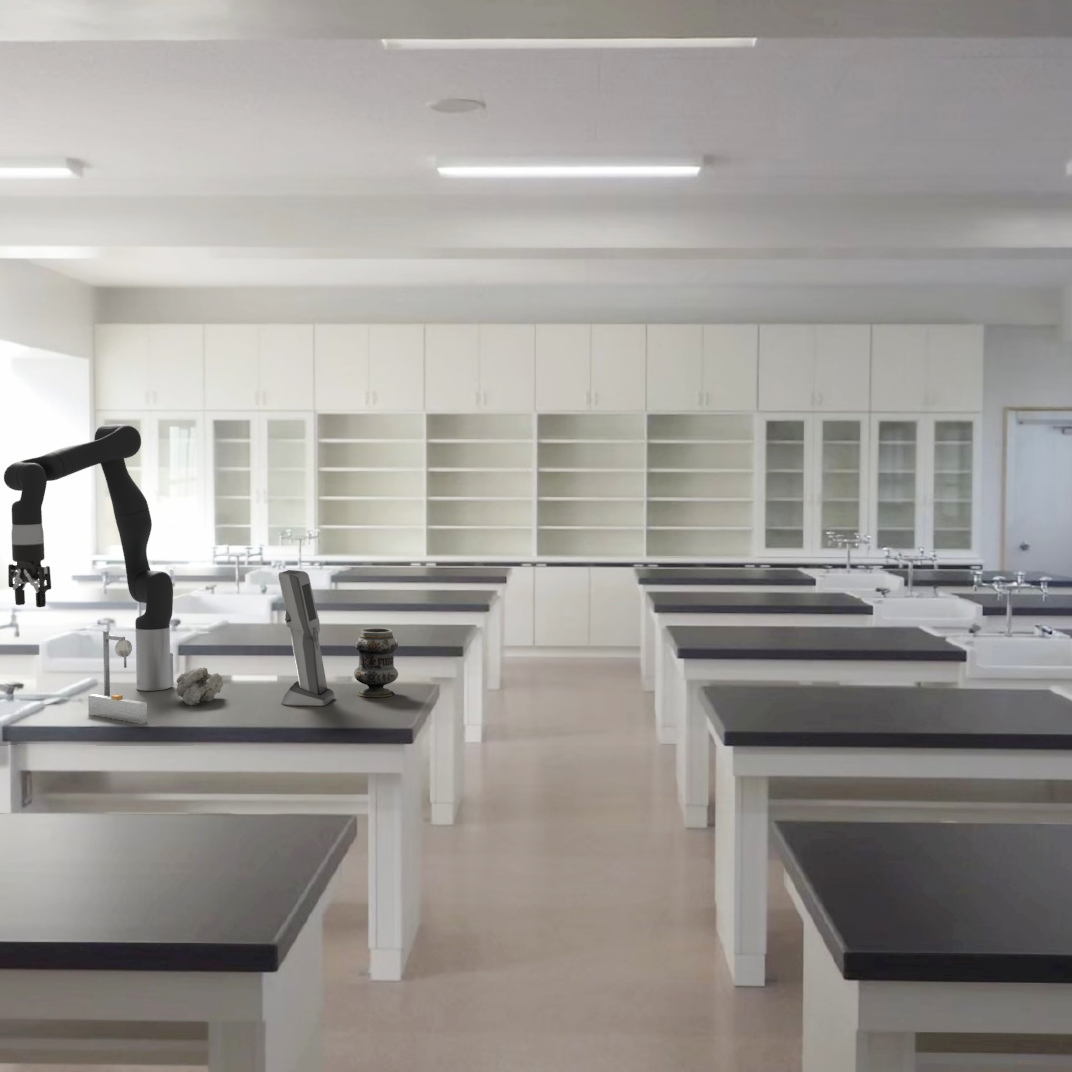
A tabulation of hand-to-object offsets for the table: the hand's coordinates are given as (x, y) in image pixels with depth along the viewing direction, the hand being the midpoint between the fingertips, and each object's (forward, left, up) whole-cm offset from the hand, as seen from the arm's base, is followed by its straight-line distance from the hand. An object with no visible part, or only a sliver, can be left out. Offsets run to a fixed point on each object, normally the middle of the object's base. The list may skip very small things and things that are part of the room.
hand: (30, 605), depth 321 cm
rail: (-8, +23, -28) cm, 37 cm away
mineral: (-34, +23, -28) cm, 50 cm away
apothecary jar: (-68, +56, -28) cm, 92 cm away
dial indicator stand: (-18, +8, -28) cm, 34 cm away
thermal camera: (-50, +48, -28) cm, 75 cm away
